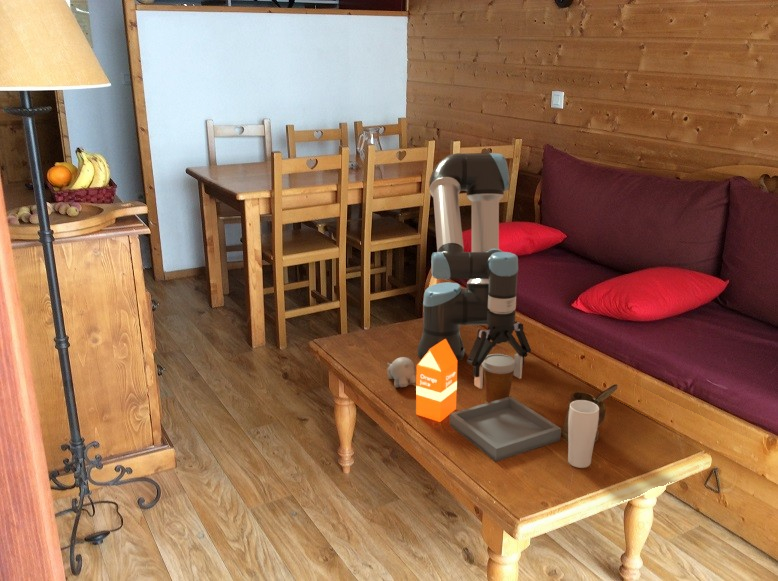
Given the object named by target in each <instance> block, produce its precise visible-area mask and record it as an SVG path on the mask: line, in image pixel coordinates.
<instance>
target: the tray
mask: <svg viewBox="0 0 778 581" xmlns="http://www.w3.org/2000/svg"><path fill="white" fill-rule="evenodd" d="M449 426H450V427H452V428H451V429H454V430H455V431H456V432H457V433H459V434H460V435H461V436H463V438H465V439H466V440H467V441H469V442H470V443H471V444H472V445H474V446H475V447H477V449H479V450H480V451H481V452H482V453H484V454H485V455H487V456H488V457H489V458H490V459H491V460H493V461H494V462H495V463H496V461H497V462H500V461H502V460H505V459H508V458H512V457H514V456H515V457H516V456H518V455H521V454H523V453H527V452H529V451H530V452H531V451H533V450H536V449H539V448H542V447H544V446H548V445H551V444H555V443H557V442H560V441H561V431H562V428H561V427H560V426H558V425H556V424H555V423H554V422H552V421H550V420H549V419H547V418H546V417H544V416H543V415H541V414H540V413H538V412H536V411H535V410H533V409H531V407H529V406H527V405H525V404H524V403H523V402H521V401H519V400H517V399H516V398H515V397H513V396H512V395H511V396H510V395H509V397H507V398H503V399H499V400H496V401H492V402H486V403H482V404H477V405H475V406H472V407H467V408H464V409H461V410H456V411H453V412H452V413H450V414H449Z"/></svg>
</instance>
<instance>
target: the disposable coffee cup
mask: <svg viewBox="0 0 778 581" xmlns="http://www.w3.org/2000/svg"><path fill="white" fill-rule="evenodd" d="M481 365H482V366H483V378H484V379H483V381H484V382H483V383H484V390H485V392H484V394H485V399H486V401H487V403H489V402H492V401H496V400H499V399H503V398H507V397H510V395H511V394H510V393H511V389H512V382H513V379H514V378H513V377H514V375H513V374H514V370H515V368H516V363H515V360H514V357H512V356H511V355H507V354H503V353H492V354H488V355H487V357H486V358H485V360H484V361H483V363H482V364H481Z"/></svg>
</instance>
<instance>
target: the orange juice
mask: <svg viewBox="0 0 778 581" xmlns="http://www.w3.org/2000/svg"><path fill="white" fill-rule="evenodd" d="M458 362H459V361H457V359H456V357H455V355H454V353H453V351H452V350H451V348H450V346H449V344H448V342H447V340H446V339H444V340H443V341H441V342H440V343H438V344H436V345H435V346H433V347H432V348H430V349H429V351H428V352H427V353H426V355H425V356H424V357H423V358H422V359H420V361H419V362H418V363H417V364H416V376H417V377H416V385H415V387H416V388H415V391H416V393H415V394H416V395H415V396H416V397H415V398H416V400H415V415H417V416H420V417H423V418H426V419H430V420H432V421H435V422H439V423H441V422H442V421H443V420H444V419H446V418H447V417H448V416H450V413H453V412H455V410H457V391H458Z"/></svg>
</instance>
